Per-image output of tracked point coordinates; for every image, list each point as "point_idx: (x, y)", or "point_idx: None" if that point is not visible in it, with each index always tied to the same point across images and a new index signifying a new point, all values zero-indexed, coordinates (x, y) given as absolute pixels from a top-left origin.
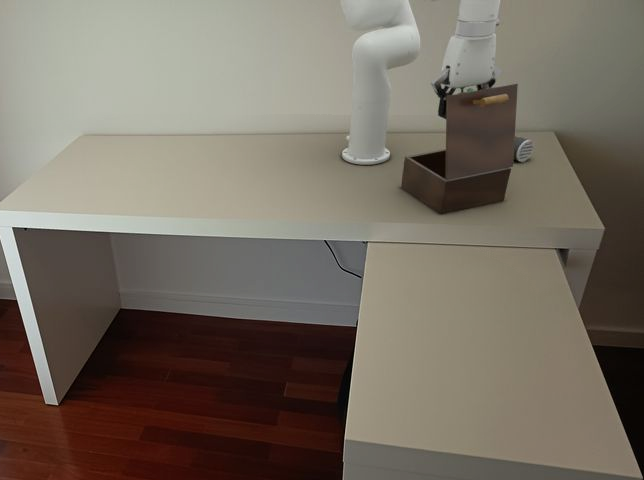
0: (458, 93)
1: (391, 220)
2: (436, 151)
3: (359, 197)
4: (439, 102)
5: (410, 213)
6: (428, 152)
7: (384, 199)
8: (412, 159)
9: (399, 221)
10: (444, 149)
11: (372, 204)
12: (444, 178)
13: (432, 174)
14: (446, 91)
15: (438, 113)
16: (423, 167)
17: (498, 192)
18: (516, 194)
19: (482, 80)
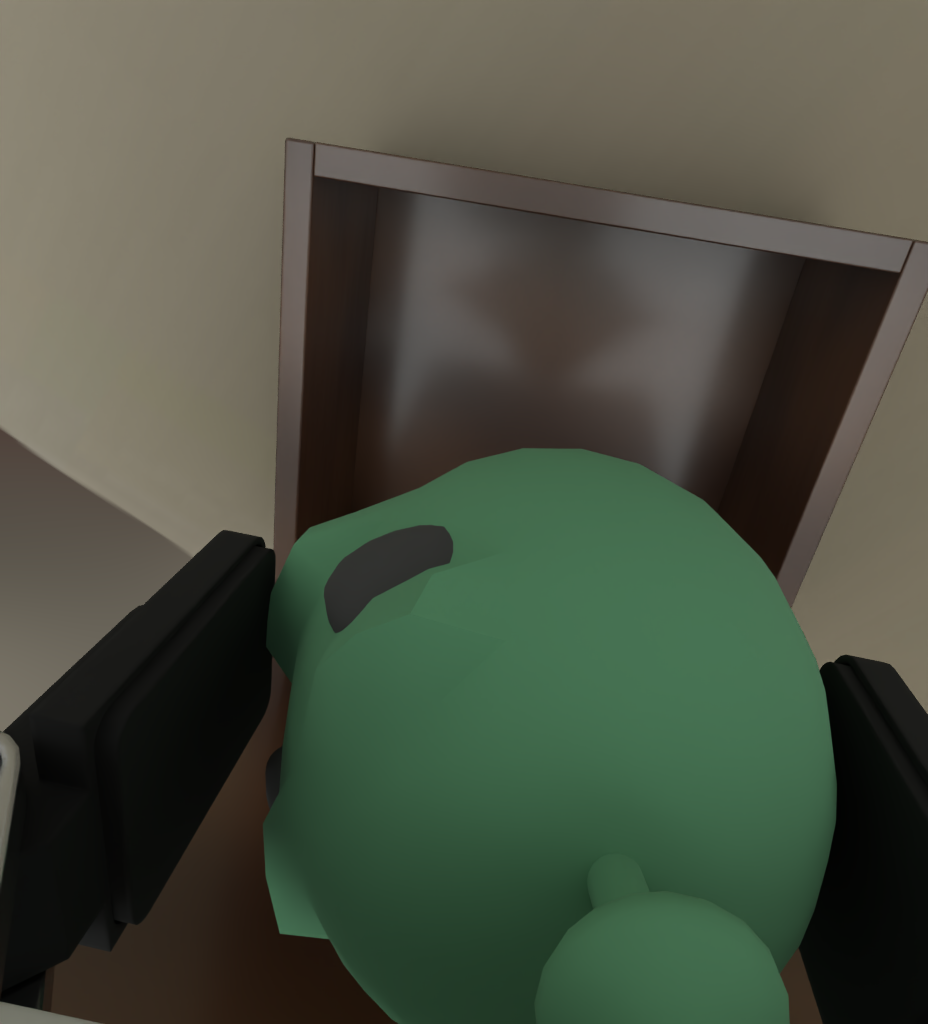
0: (475, 878)
1: (106, 472)
2: (601, 207)
3: (63, 129)
4: (34, 702)
5: (222, 469)
6: (526, 181)
7: (186, 250)
8: (305, 234)
9: (134, 500)
10: (698, 211)
11: (95, 267)
12: (663, 252)
13: (274, 532)
14: (5, 927)
15: (219, 540)
16: (283, 418)
17: None
18: (810, 614)
19: None
